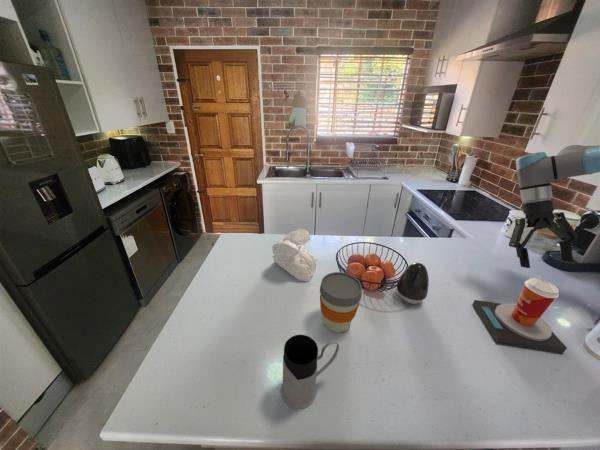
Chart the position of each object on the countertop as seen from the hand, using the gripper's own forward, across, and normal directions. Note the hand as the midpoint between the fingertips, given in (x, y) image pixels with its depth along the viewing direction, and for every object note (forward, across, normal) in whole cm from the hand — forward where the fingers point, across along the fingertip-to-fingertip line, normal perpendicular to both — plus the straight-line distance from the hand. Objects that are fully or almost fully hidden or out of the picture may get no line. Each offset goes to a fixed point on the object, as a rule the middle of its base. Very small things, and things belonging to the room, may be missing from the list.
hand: (546, 264), depth 82 cm
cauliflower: (-8, +85, -20) cm, 88 cm away
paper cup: (+16, +13, +3) cm, 21 cm away
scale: (+18, +15, +2) cm, 24 cm away
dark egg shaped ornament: (+8, +44, -8) cm, 45 cm away
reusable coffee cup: (+8, +72, +4) cm, 72 cm away
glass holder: (+15, +82, +23) cm, 86 cm away
